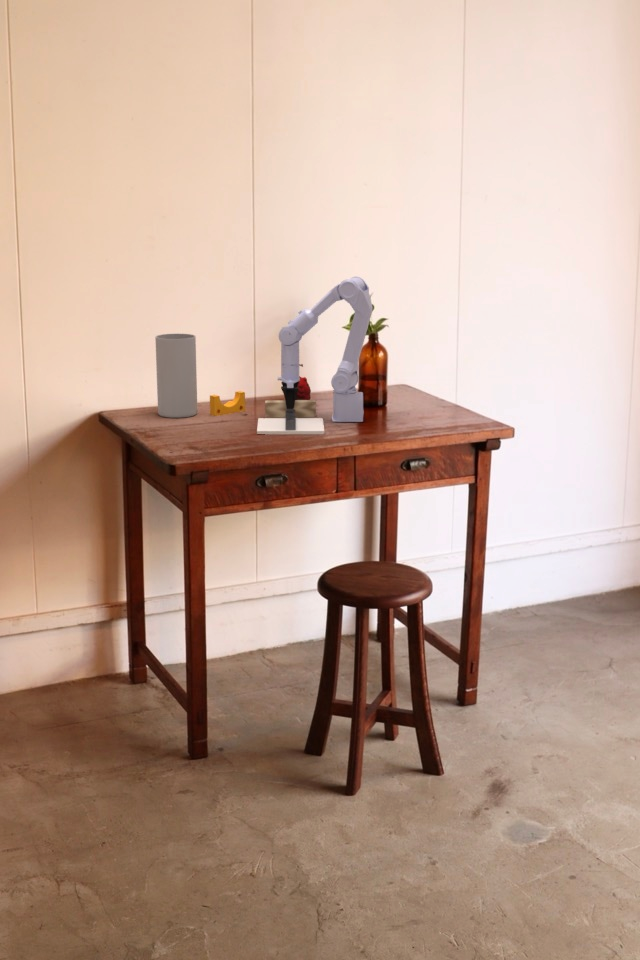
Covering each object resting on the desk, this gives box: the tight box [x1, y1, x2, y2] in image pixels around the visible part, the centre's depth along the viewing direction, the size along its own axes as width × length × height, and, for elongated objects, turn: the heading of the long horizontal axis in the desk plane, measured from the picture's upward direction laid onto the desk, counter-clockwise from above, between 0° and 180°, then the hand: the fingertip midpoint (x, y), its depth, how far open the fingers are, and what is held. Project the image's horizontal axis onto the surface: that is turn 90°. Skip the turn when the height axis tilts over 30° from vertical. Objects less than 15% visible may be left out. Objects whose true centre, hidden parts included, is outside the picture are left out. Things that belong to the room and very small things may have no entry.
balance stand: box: [256, 409, 325, 435], centre depth 351 cm, size 20×18×4 cm
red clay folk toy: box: [295, 363, 312, 400], centre depth 386 cm, size 8×7×15 cm
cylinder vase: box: [155, 333, 198, 419], centre depth 366 cm, size 12×12×25 cm
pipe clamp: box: [209, 390, 246, 417], centre depth 372 cm, size 12×4×6 cm, turn 130°
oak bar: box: [264, 399, 317, 418], centre depth 367 cm, size 16×4×5 cm, turn 93°
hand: (290, 406), depth 367 cm, fingers open, 7 cm apart
